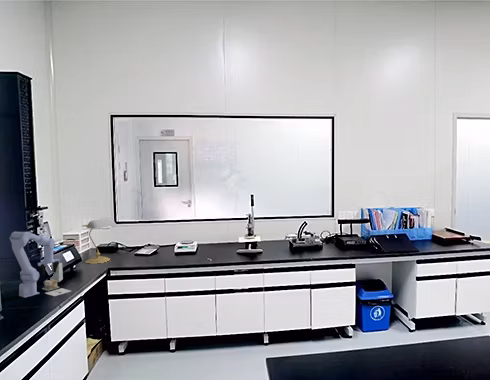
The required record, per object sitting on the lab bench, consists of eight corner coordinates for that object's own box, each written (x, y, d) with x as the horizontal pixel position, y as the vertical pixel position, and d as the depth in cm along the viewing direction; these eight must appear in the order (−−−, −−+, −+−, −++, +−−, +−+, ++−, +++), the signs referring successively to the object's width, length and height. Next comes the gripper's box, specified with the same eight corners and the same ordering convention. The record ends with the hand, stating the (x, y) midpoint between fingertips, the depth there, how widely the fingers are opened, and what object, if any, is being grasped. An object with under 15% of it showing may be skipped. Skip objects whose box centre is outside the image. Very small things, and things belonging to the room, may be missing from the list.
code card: (54, 296, 222) (54, 296, 222) (44, 293, 228) (44, 293, 228) (71, 291, 232) (71, 291, 232) (61, 288, 238) (61, 288, 238)
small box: (62, 279, 260) (62, 262, 260) (59, 281, 254) (58, 264, 253) (51, 279, 259) (51, 263, 259) (47, 282, 253) (47, 265, 253)
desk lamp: (94, 266, 300) (93, 221, 299) (75, 263, 308) (74, 220, 307) (119, 258, 328) (118, 217, 327) (101, 256, 337) (100, 216, 336)
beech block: (50, 289, 234) (50, 282, 234) (44, 287, 238) (44, 280, 238) (57, 287, 239) (57, 280, 238) (51, 286, 242) (51, 279, 242)
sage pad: (48, 290, 233) (48, 290, 233) (41, 289, 237) (41, 288, 237) (59, 287, 240) (59, 287, 240) (53, 285, 244) (53, 285, 244)
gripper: (41, 257, 234) (41, 276, 234) (61, 253, 246) (62, 271, 247) (36, 256, 237) (36, 275, 238) (56, 252, 250) (56, 270, 250)
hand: (49, 273), depth 243 cm, fingers open, 7 cm apart
